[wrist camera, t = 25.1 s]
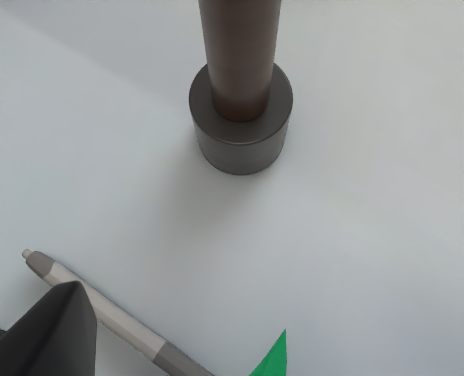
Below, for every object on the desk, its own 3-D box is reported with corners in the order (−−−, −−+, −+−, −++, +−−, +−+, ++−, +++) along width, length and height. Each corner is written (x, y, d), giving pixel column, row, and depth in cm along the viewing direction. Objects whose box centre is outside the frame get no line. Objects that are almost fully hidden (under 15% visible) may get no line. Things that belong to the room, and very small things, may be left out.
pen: (40, 245, 20) (26, 240, 19) (293, 429, 18) (297, 438, 17) (26, 263, 20) (10, 259, 19) (280, 452, 18) (283, 463, 16)
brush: (276, 182, 21) (316, 27, 10) (189, 166, 22) (129, -2, 10) (290, 103, 22) (341, -120, 11) (207, 89, 23) (172, -141, 11)
